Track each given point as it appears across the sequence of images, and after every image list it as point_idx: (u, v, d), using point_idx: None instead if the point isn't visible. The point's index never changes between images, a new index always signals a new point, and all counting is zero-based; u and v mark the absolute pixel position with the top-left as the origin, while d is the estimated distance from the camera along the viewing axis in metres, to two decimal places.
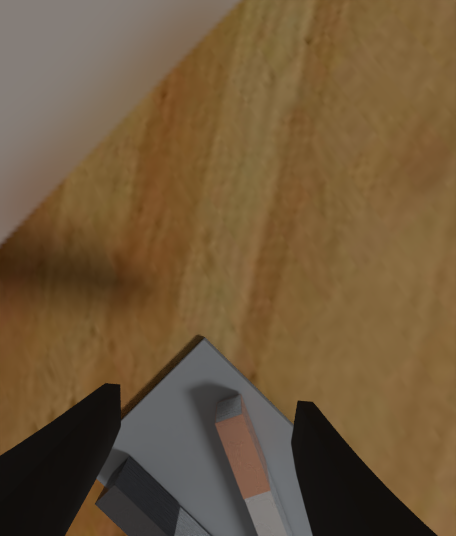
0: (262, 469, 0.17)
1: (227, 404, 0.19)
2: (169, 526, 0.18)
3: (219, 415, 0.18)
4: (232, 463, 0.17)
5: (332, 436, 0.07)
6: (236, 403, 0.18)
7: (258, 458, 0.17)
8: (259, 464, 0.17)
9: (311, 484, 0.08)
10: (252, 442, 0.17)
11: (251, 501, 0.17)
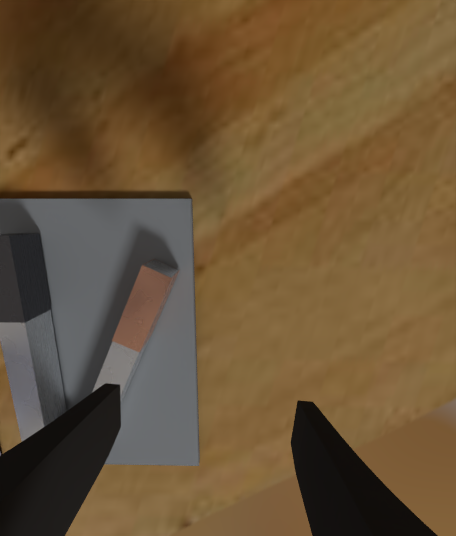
0: (147, 332, 0.17)
1: (162, 265, 0.17)
2: (29, 311, 0.17)
3: (150, 264, 0.16)
4: (127, 308, 0.16)
5: (332, 436, 0.07)
6: (171, 270, 0.17)
7: (151, 322, 0.16)
8: (148, 327, 0.17)
9: (311, 484, 0.08)
10: (158, 306, 0.16)
11: (117, 347, 0.17)
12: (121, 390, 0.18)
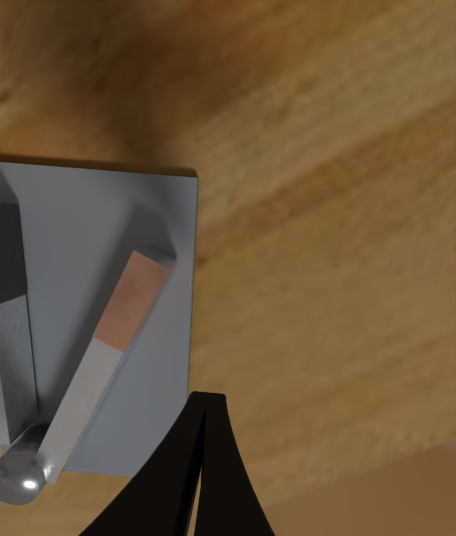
0: (134, 330, 0.14)
1: (158, 253, 0.15)
2: None
3: (143, 250, 0.14)
4: (113, 299, 0.14)
5: (219, 426, 0.07)
6: (168, 260, 0.15)
7: (140, 318, 0.14)
8: (135, 324, 0.14)
9: None
10: (150, 300, 0.14)
11: (97, 344, 0.14)
12: (99, 394, 0.15)
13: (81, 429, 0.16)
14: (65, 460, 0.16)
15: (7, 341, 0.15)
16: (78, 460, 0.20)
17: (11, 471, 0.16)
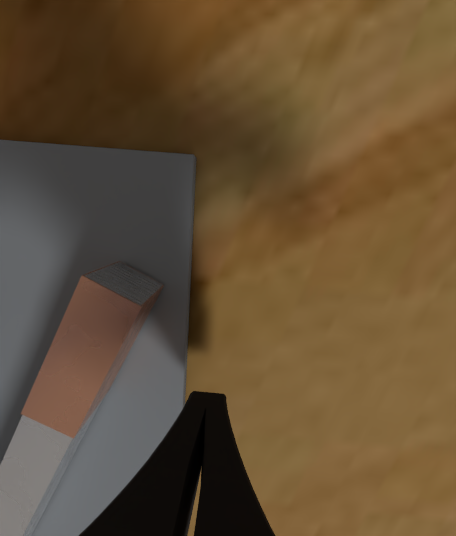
0: (89, 405, 0.09)
1: (131, 276, 0.09)
2: None
3: (103, 274, 0.08)
4: (51, 356, 0.08)
5: (219, 426, 0.07)
6: (146, 287, 0.09)
7: (99, 386, 0.08)
8: (91, 395, 0.08)
9: None
10: (113, 359, 0.08)
11: (31, 426, 0.09)
12: (39, 497, 0.10)
13: None
14: None
15: None
16: None
17: None
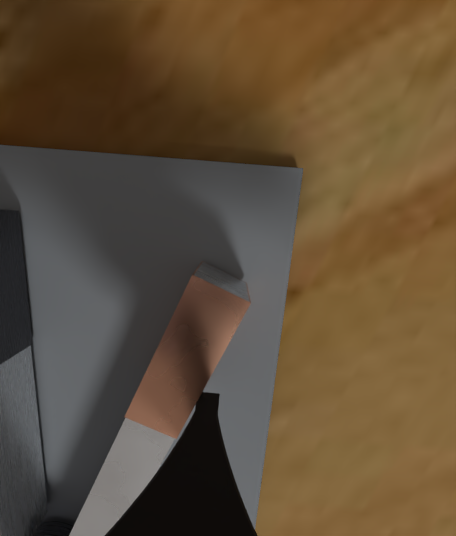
0: (193, 404, 0.09)
1: (221, 274, 0.09)
2: None
3: (203, 273, 0.08)
4: (157, 357, 0.08)
5: (208, 425, 0.07)
6: (238, 284, 0.09)
7: (203, 385, 0.08)
8: (195, 395, 0.09)
9: None
10: (219, 357, 0.08)
11: (134, 429, 0.09)
12: None
13: None
14: None
15: (3, 423, 0.10)
16: None
17: None
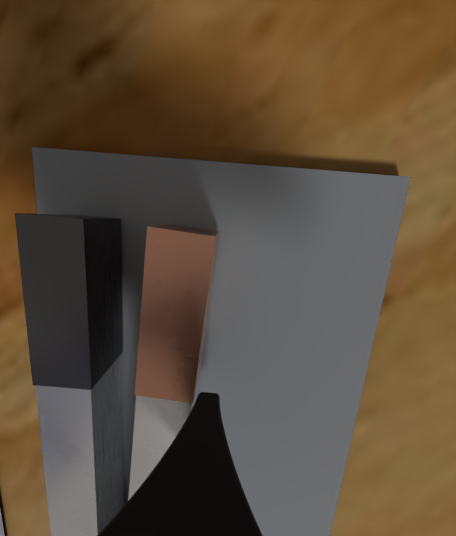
0: (196, 362, 0.08)
1: (188, 228, 0.09)
2: (98, 364, 0.09)
3: (164, 227, 0.08)
4: (144, 324, 0.08)
5: (211, 425, 0.07)
6: (207, 231, 0.09)
7: (200, 339, 0.08)
8: (195, 352, 0.08)
9: None
10: (204, 304, 0.08)
11: (148, 404, 0.09)
12: None
13: None
14: None
15: (103, 432, 0.10)
16: None
17: None
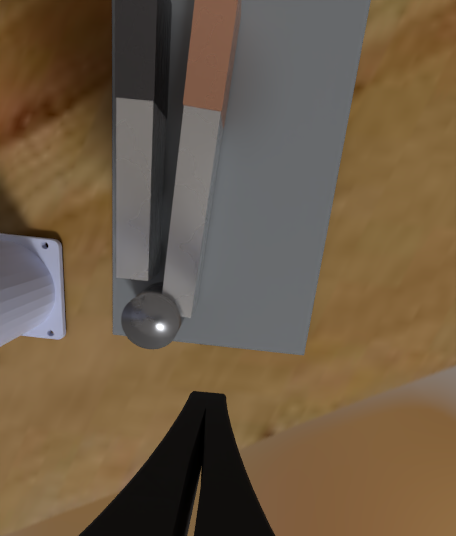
0: (225, 76, 0.12)
1: None
2: (157, 93, 0.13)
3: None
4: (192, 45, 0.12)
5: (219, 426, 0.07)
6: None
7: (228, 58, 0.12)
8: (225, 68, 0.12)
9: None
10: (233, 27, 0.12)
11: (191, 114, 0.13)
12: (209, 180, 0.13)
13: (201, 234, 0.14)
14: (194, 282, 0.15)
15: (156, 157, 0.14)
16: (193, 329, 0.18)
17: (145, 306, 0.15)
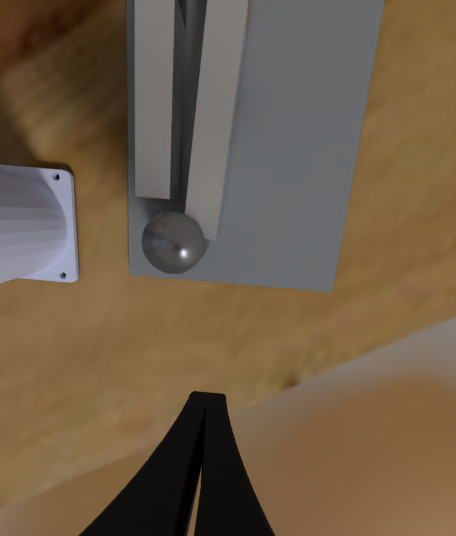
0: None
1: None
2: None
3: None
4: None
5: (219, 426, 0.07)
6: None
7: None
8: None
9: None
10: None
11: (217, 1, 0.12)
12: (236, 79, 0.12)
13: (227, 143, 0.13)
14: (220, 198, 0.14)
15: (176, 59, 0.13)
16: (215, 266, 0.17)
17: (167, 224, 0.13)
